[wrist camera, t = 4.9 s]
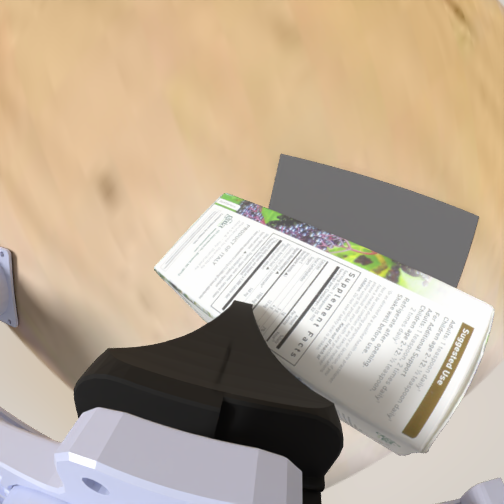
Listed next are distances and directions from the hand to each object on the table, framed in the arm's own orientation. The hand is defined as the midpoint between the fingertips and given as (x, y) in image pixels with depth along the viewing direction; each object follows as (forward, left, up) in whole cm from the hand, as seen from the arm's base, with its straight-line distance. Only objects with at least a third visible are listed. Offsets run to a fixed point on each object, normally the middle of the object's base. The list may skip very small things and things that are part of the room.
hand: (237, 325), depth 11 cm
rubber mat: (+9, 0, -10) cm, 13 cm away
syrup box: (-2, 0, -7) cm, 7 cm away
